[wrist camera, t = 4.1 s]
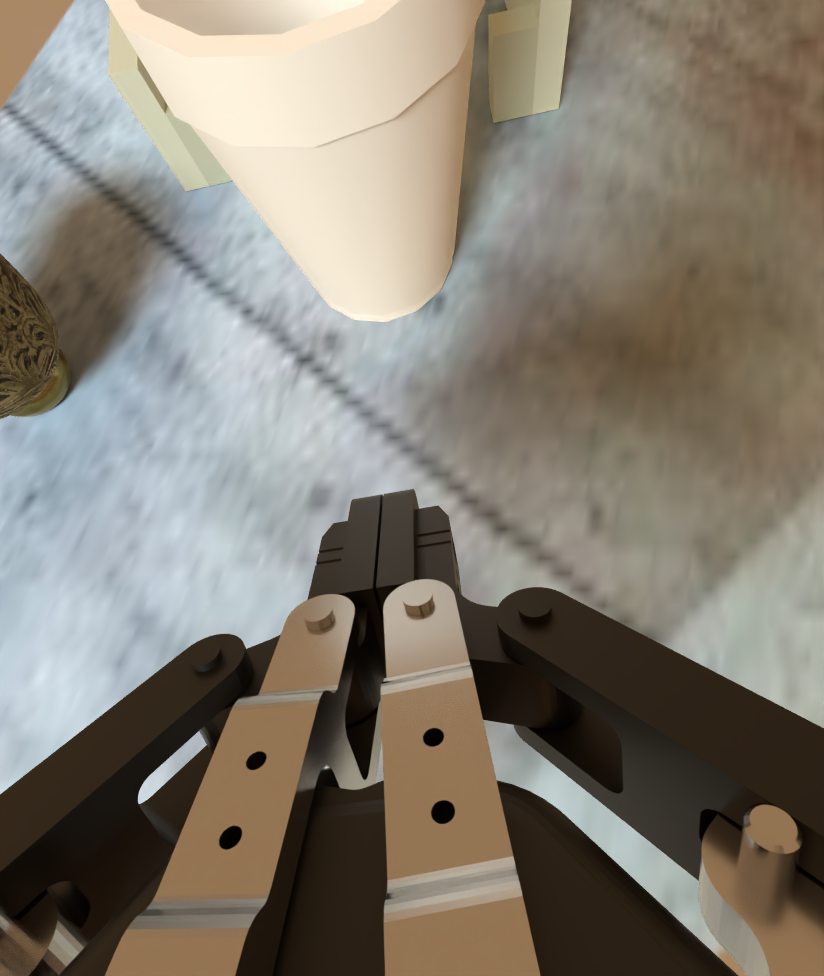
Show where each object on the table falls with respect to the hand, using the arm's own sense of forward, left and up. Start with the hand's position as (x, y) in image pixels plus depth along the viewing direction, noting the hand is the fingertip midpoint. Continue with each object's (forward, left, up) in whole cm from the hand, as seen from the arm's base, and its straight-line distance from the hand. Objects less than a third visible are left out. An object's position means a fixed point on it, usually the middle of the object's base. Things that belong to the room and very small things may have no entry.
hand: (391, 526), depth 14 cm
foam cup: (-7, -12, -8) cm, 16 cm away
